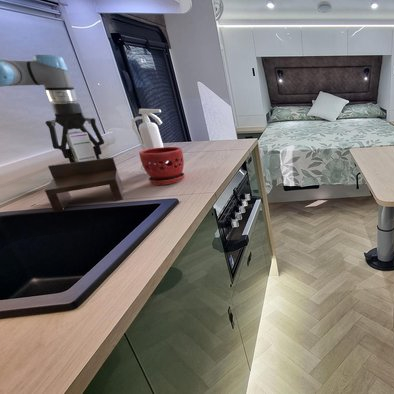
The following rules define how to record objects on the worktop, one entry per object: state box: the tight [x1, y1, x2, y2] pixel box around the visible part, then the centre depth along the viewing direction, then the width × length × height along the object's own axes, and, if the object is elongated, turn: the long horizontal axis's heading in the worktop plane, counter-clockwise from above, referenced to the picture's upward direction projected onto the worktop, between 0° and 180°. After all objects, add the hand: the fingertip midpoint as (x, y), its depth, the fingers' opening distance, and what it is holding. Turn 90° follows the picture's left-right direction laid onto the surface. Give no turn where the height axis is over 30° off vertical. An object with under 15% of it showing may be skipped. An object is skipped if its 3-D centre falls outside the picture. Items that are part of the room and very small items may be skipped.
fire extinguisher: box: [131, 108, 169, 172], centre depth 116 cm, size 7×12×25 cm, turn 106°
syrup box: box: [66, 130, 97, 162], centre depth 111 cm, size 6×6×14 cm
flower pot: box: [138, 146, 186, 186], centre depth 106 cm, size 13×13×12 cm
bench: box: [44, 157, 124, 214], centre depth 91 cm, size 16×14×11 cm
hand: (87, 164), depth 113 cm, fingers closed on syrup box, 7 cm apart
